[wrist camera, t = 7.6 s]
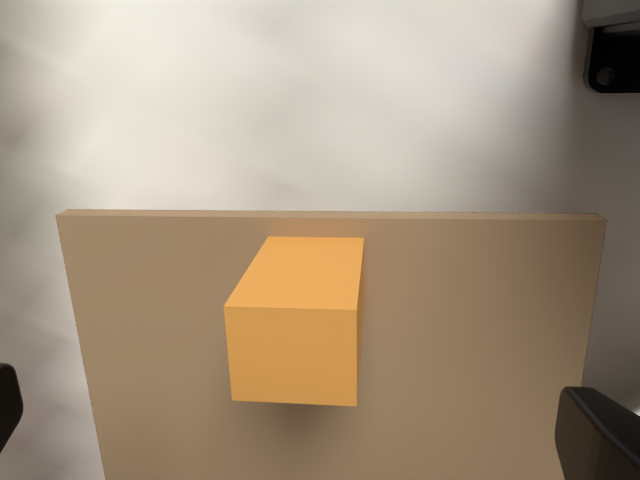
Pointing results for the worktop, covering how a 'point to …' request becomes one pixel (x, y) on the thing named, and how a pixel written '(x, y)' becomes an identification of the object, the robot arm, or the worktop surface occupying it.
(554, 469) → the lid
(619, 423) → the robot arm
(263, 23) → the worktop surface
